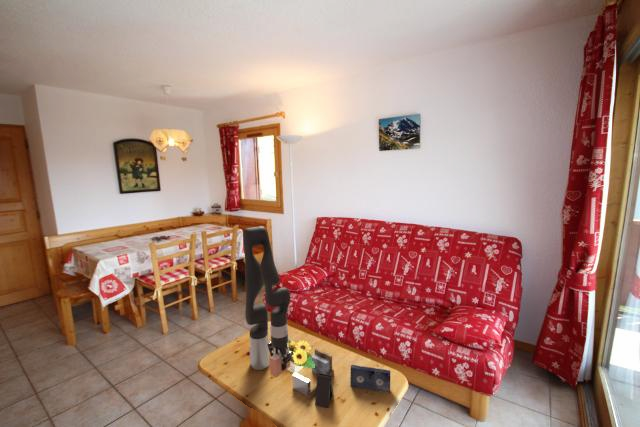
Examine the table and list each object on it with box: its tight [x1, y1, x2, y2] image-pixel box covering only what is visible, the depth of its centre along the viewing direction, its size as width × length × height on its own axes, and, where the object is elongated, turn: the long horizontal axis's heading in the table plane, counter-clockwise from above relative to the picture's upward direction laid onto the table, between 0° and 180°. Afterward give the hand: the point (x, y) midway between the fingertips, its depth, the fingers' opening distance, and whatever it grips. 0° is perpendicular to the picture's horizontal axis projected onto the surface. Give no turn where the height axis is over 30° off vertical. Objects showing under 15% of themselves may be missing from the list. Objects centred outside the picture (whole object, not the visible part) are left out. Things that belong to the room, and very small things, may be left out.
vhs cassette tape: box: [349, 364, 391, 393], centre depth 141 cm, size 18×3×10 cm, turn 74°
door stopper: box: [314, 373, 334, 408], centre depth 135 cm, size 9×6×12 cm, turn 163°
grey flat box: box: [292, 372, 312, 397], centre depth 140 cm, size 9×2×7 cm, turn 54°
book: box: [269, 349, 291, 378], centre depth 135 cm, size 4×9×8 cm, turn 144°
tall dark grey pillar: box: [306, 348, 335, 400], centre depth 146 cm, size 11×20×10 cm, turn 143°
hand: (280, 367), depth 135 cm, fingers closed on book, 3 cm apart
